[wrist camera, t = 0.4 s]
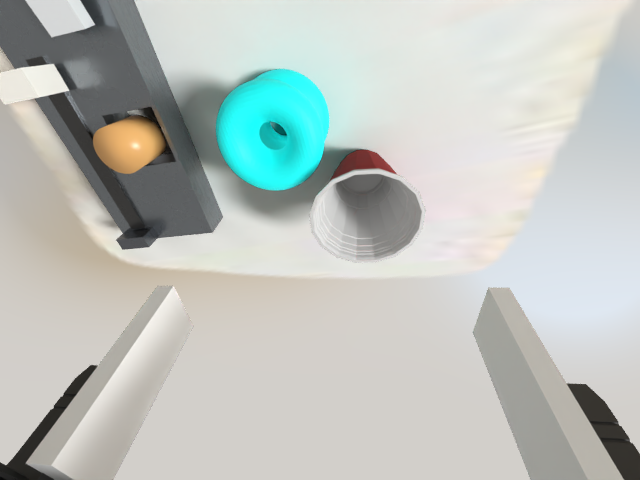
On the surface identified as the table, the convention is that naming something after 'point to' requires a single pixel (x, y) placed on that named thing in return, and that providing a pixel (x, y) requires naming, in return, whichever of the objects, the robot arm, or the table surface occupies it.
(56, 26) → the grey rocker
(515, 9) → the table surface
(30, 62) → the console panel
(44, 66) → the slider knob
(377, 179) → the plastic cup
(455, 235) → the table surface
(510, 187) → the table surface
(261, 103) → the donuts
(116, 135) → the orange button
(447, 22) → the table surface
